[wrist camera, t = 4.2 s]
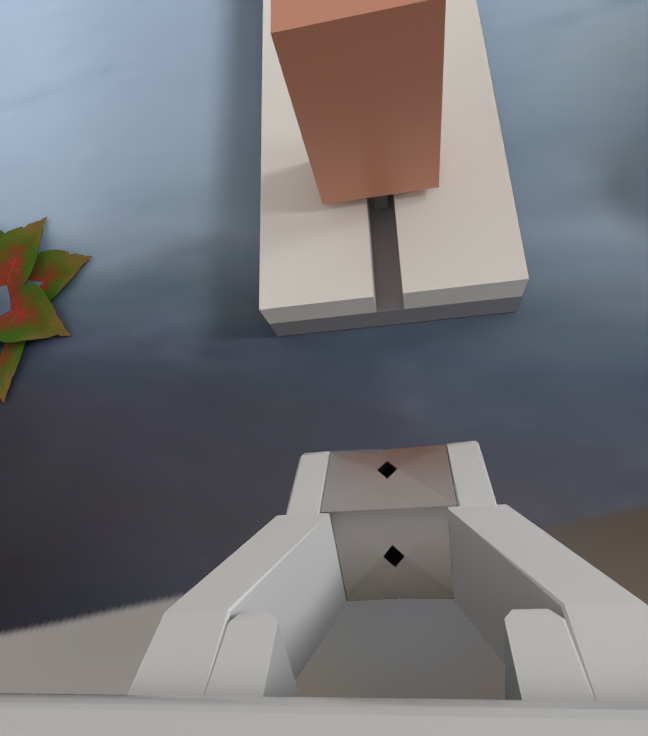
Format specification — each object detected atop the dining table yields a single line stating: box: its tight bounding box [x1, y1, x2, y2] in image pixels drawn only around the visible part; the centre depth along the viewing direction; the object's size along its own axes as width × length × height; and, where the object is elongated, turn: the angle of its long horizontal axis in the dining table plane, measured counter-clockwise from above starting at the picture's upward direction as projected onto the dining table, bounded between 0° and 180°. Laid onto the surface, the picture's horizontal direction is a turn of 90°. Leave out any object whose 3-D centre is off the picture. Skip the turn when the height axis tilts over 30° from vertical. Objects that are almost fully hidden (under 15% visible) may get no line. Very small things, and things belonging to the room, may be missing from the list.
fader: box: [270, 0, 446, 209], centre depth 19 cm, size 5×3×10 cm, turn 92°
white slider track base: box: [259, 0, 529, 336], centre depth 27 cm, size 11×32×3 cm, turn 2°
